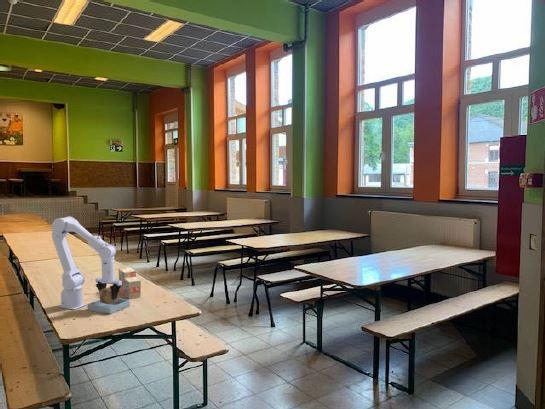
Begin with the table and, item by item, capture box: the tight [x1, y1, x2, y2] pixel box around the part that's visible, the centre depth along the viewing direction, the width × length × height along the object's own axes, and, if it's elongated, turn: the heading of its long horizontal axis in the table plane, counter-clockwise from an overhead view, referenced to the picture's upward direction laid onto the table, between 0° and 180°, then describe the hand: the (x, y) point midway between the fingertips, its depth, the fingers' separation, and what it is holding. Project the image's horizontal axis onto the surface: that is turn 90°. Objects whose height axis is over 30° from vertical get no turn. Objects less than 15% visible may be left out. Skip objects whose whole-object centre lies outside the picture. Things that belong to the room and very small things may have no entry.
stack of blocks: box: [118, 266, 142, 300], centre depth 227 cm, size 21×6×12 cm, turn 34°
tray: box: [86, 297, 131, 315], centre depth 202 cm, size 14×13×3 cm
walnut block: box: [99, 286, 119, 304], centre depth 202 cm, size 6×6×6 cm
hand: (108, 298), depth 202 cm, fingers closed on walnut block, 6 cm apart
